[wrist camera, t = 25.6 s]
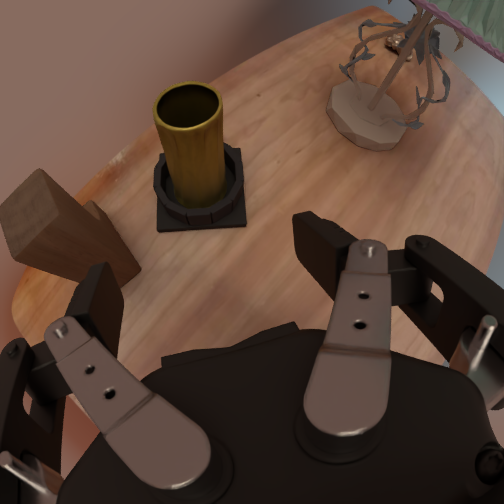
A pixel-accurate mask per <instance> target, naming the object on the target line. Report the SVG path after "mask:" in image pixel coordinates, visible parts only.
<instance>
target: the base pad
mask: <svg viewBox="0 0 504 504" xmlns="http://www.w3.org/2000/svg"><path fill="white" fill-rule="evenodd" d="M223 145H224V160H225V177H226V181H227V190H226V194H225V196H224V198H223V199H222V200H220V201H219V202H217V203H215V204H214V205H212V206H211V207H209V208H195V209H187V208H186V207H184V206H183V205H181V204H180V203H179V202H178V200H177V199H176V197H175V194H174V185H173V182H172V179H171V177H170V173H169V169H168V166H167V162H166V157H165V153H161V154H160V158H159V161H158V163H157V164H156V166H155V167H156V168H154V183H153V187H154V190H155V192H156V194H157V231H158V232H172V231H186V230H200V229H216V228H232V227H246V225H247V221H246V209H245V197H244V186H243V183H244V176H243V165H242V161H241V150H240V148H232V147H231V146H230V145H229V146H228V144H226V143H224V142H223Z"/></svg>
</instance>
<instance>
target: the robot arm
mask: <svg viewBox="0 0 504 504" xmlns="http://www.w3.org/2000/svg"><path fill="white" fill-rule="evenodd" d="M292 223H293V234H294V246H295V252H296V255H297V258H298V260H299V261H300V263H301V264H302V265H303V266H304V267H305V268H306V269H307V271H308V272H309V273H310V274H311V275H312V276H313V278H314V279H315V280H316V281H317V282H318V283H319V285H320V286H321V287H322V288H323V289H324V290H325V292H326V293H327V294H328V295H329V296H330V297H331V299H332V300H333V301H334V305H333V309H332V313H331V317H330V321H329V324H328V328H327V330H321V329H302V330H299V328H298V326H297V325H296V323H295V322H294V321H293V322H290V323H287V324H283V325H280V326H277V327H274V328H271V329H267V330H264V331H261V332H259V333H257V334H255V335H253V336H251V337H249V338H247V339H245V340H243V341H241V342H239V343H237V344H235V345H233V346H231V347H226V348H212V349H196V350H190V351H186V352H182V353H177V354H173V355H169V356H164V357H161V365H162V367H161V368H159V369H157V370H155V371H153V372H152V373H150V374H149V375H147V376H146V377H144V378H143V379H142V380H141V381H139V380H138V379H137V378H136V377H135V376H134V375H132V374H131V373H130V372H129V371H128V370H127V369H126V368H125V367H124V366H123V365H122V364H121V363H120V362H119V361H118V360H117V354H118V346H119V338H120V331H121V324H122V317H123V310H124V299H123V295H122V292H121V290H120V288H119V285H118V283H117V281H116V278H115V276H114V273H113V271H112V268H111V266H110V264H109V263H108V262H107V261H106V262H102V263H99V264H95V265H91V267H90V269H89V271H88V273H87V276H86V278H85V279H83V280H82V281H81V282H80V283H79V285H78V286H77V287H76V289H75V291H74V294H73V296H72V298H71V302H70V303H69V306H68V308H67V310H66V313H65V316H64V317H62V318H59V319H57V320H56V321H54V322H53V323H52V324H50V325H49V327H48V328H47V329H46V331H45V333H44V339H45V341H43V342H41V343H39V344H36V345H34V346H32V347H30V345H29V344H28V343H27V341H26V340H25V339H24V338H17V339H14V340H12V341H11V342H9V343H8V344H7V345H6V346H5V347H4V349H3V350H2V352H1V354H0V504H504V448H502V446H500V444H499V443H498V441H497V439H496V437H495V435H494V433H493V430H492V428H491V425H490V422H489V418H488V415H487V412H488V411H489V410H499V409H502V408H504V289H502V288H501V287H500V286H499V285H497V284H496V283H495V282H493V281H492V280H491V279H490V278H488V277H487V276H486V275H484V274H483V273H482V272H480V271H479V270H478V269H476V268H475V267H474V266H472V265H471V264H470V263H468V262H467V261H465V260H464V259H463V258H461V257H460V256H458V255H457V254H456V253H454V252H453V251H451V250H450V249H448V248H447V247H445V246H444V245H442V244H441V243H439V242H438V241H436V240H435V239H433V238H431V237H428V236H424V235H412V236H409V237H408V238H406V240H405V248H404V249H400V250H389V251H388V250H387V247H386V245H385V244H383V243H381V242H379V241H376V240H371V239H363V240H358V239H357V238H355V237H354V236H353V235H351V234H350V233H349V232H347V231H345V230H344V229H343V228H342V227H340V226H339V225H337V224H336V223H334V222H333V221H329V220H326V219H321V218H320V217H318V216H317V215H316V214H314V213H313V212H311V211H306V212H302V213H297V214H294V215H293V217H292ZM433 281H434V282H435V283H436V284H437V285H438V286H439V287H440V288H441V289H442V291H443V295H444V300H443V303H442V302H441V301H440V300H439V299H438V298H437V297H436V296H434V295H433V294H432V293H431V288H432V283H433ZM397 305H398V306H399V308H400V309H401V310H402V311H403V312H404V313H405V314H406V315H407V316H408V317H409V318H410V320H411V321H412V322H413V323H414V324H415V325H416V326H417V327H418V328H419V329H420V330H421V332H422V333H423V334H424V335H425V336H426V337H427V338H428V339H429V341H430V342H431V343H432V344H433V345H434V346H435V347H436V349H437V350H438V351H439V352H440V353H441V354H442V355H443V357H444V358H445V359H446V360H447V361H448V362H449V368H448V367H444V366H441V365H437V364H434V363H431V362H427V361H424V360H420V359H417V358H414V357H410V356H407V355H404V354H400V353H397V352H394V351H391V350H390V339H391V306H397ZM25 391H26V392H27V393H28V394H29V395H30V396H31V398H32V399H33V400H32V404H31V409H30V414H29V415H28V414H27V413H26V411H25V410H24V406H23V396H24V392H25ZM71 393H74V395H75V396H76V398H77V399H78V401H79V402H80V404H81V405H82V407H83V408H84V409H85V411H86V412H87V414H88V415H89V416H90V418H91V419H92V421H93V422H94V423H95V425H96V426H97V427H98V429H99V430H100V433H99V434H98V435H97V437H96V438H95V440H94V441H93V442H92V444H91V445H90V446H89V448H88V449H87V450H86V452H85V453H84V454H83V456H82V457H81V458H80V460H79V461H78V462H77V464H76V465H75V466H74V468H73V469H72V470H71V472H70V473H69V475H68V476H67V477H66V479H65V480H64V479H63V478H62V476H61V445H62V431H63V419H64V409H65V401H66V395H69V394H71Z"/></svg>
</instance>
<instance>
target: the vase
mask: <svg viewBox="0 0 504 504" xmlns="http://www.w3.org/2000/svg"><path fill="white" fill-rule="evenodd" d="M153 116H154V121H155V125H156V128H157V131H158V134H159V137H160V141H161V144H162V147H163V150H164V153H165V157H166V162H167V166H168V169H169V173H170V177H171V179H172V182H173V185H174V194H175V197H176V199H177V200H178V202H179V203H180V204H181V205H183V206H184V207H186V208H187V209H195V208H209V207H211V206H212V205H214V204H215V203H217V202H219V201H220V200H222V199H223V198H224V196H225V194H226V190H227V181H226V177H225V160H224V145H223V103H222V98H221V95H220V93H219V92H218V91H217V90H216V89H215V88H214V87H212V86H210V85H208V84H205V83H202V82H196V81H187V82H182V83H178V84H175V85H172V86H170V87H168V88H167V89H165V90H164V91H163V92H162V93H160V95H159V96H158V97H157V99H156V101H155V102H154V105H153Z"/></svg>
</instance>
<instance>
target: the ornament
mask: <svg viewBox="0 0 504 504" xmlns="http://www.w3.org/2000/svg"><path fill="white" fill-rule="evenodd" d="M387 37H388V38H387V39H386V40H387V41H386V43H385V44H386V45H387V46H389V47H392V49H394V50H397V53H398V54H399V55H400V53H401V51H402V50H403V48H402V47H397V45H398V44H399V42H400V41H401V40H403V37H402V36H401V35H399V36H397V34H393V35H390V36H387ZM412 56H413V52H412V51H411V53H410V54H409V56H408V57H407V59H406V60H407V61H409V60H411V59H412Z"/></svg>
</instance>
